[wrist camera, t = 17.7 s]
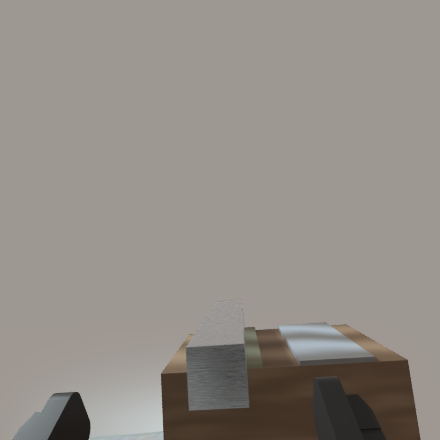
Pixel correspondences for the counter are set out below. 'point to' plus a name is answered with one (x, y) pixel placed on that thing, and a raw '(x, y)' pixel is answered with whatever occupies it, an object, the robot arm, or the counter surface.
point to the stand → (295, 386)
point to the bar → (218, 360)
